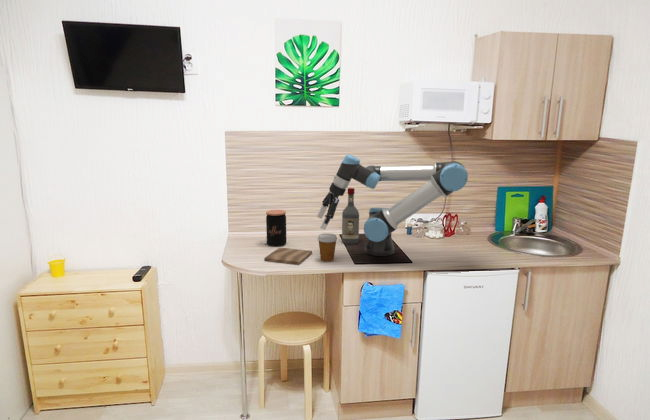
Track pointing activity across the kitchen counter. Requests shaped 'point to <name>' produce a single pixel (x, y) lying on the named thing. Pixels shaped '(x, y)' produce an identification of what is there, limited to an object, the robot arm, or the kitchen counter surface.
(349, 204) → the liquor
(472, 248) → the kitchen counter surface
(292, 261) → the walnut board
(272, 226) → the coffee jar
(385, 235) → the robot arm
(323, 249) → the disposable coffee cup
